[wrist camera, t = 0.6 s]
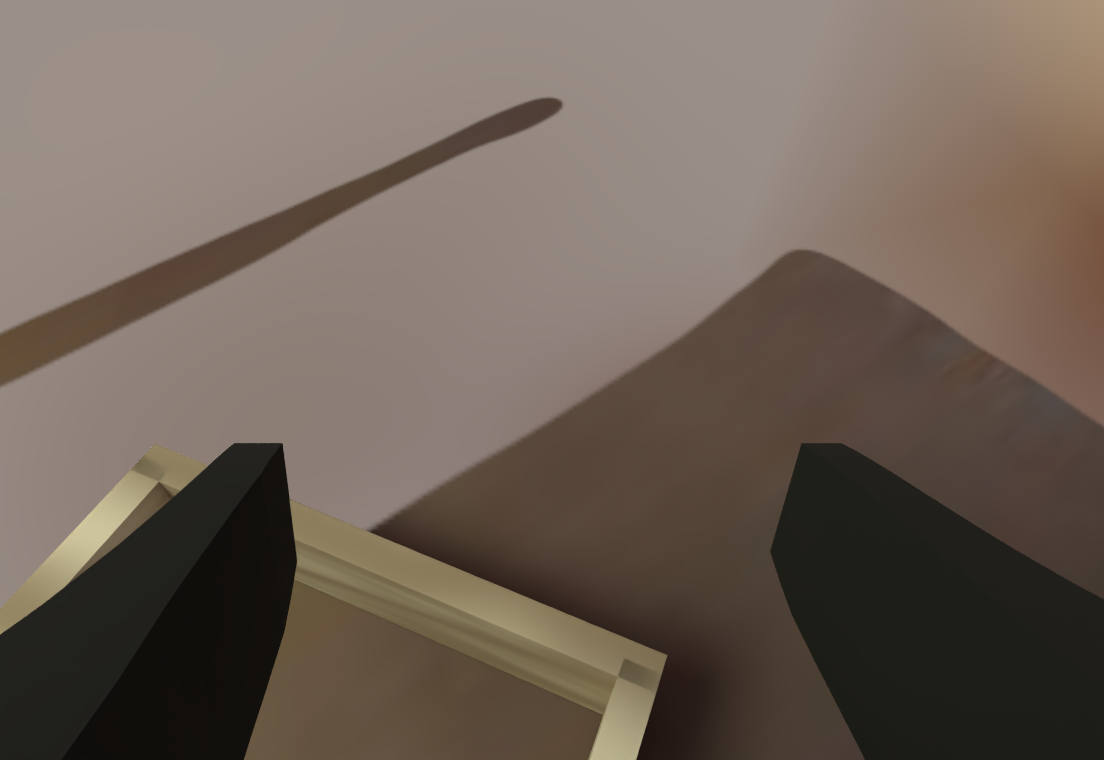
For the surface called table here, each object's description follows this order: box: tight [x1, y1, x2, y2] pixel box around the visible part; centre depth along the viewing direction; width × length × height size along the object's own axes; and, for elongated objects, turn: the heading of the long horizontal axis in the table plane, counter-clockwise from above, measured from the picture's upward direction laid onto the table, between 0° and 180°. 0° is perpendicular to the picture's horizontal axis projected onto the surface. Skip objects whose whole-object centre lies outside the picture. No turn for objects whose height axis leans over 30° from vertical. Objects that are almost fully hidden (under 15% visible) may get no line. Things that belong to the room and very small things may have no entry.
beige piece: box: [0, 444, 667, 760], centre depth 22 cm, size 13×19×4 cm, turn 68°
